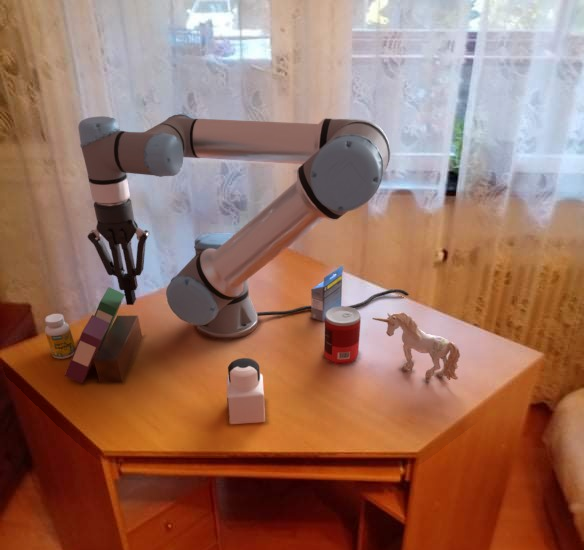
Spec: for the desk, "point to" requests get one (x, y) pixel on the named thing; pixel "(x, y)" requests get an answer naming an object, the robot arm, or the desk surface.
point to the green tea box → (109, 307)
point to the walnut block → (118, 349)
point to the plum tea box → (87, 349)
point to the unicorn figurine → (424, 345)
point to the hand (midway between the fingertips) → (131, 301)
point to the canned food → (342, 334)
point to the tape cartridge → (326, 295)
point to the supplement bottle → (59, 336)
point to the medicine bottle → (245, 392)
